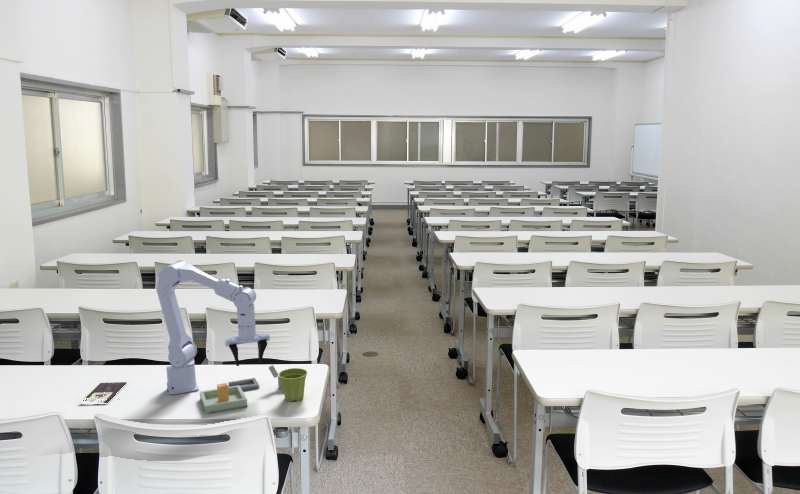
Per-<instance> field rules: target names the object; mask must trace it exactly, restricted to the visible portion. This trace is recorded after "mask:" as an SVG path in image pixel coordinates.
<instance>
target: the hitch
mask: <svg viewBox="0 0 800 494" xmlns="http://www.w3.org/2000/svg"><path fill="white" fill-rule="evenodd" d="M227 382H228V384H227V385H228V387H231V386H237V385H240V387H241V389H242V391H243V392H244V391H249V390H257V389H260V384H259V382H258V381H257V379H256V378H255V377H253V378H246V379H241V380H240V379H238V380H233V381H227Z"/></svg>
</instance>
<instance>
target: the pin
mask: <svg viewBox="0 0 800 494" xmlns="http://www.w3.org/2000/svg"><path fill="white" fill-rule="evenodd" d="M228 387H229V385H228V384H227V382H224V383H223V382H222V383H218V384H216V389H217V392H218V401H219V403H221V402H227V401H229V395H228Z"/></svg>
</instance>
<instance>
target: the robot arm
mask: <svg viewBox="0 0 800 494" xmlns="http://www.w3.org/2000/svg"><path fill="white" fill-rule="evenodd" d="M157 277H158V279H157V284H156V294H157V296H158V301H159V304H160V308H161V312H162V314H163V319H164V322H165V326H166V329H167V333H168V336H169V339H170V340H169V343H168V346H167V349H168V362H169V363H170V365H167V366H166V368H165V369H166V378H167V379H166V381H167V382H166V386H167V387H166V388H167V389H168V394H169V395H176V394H183V393H184V394H186V393H190V392H196V391H199V390H200V389H199V386H198V383H197V377H196V366H195V365H196V364H195V356H197V353H198V348H197V346H196V344H195V343H194V342H193V339H192V337H191V336H189V335H188V334H187V332H186V328H185V325H184V320H183V317H182V313H181V311H180V307H179V303H178V299H177V296H176V292H175V290H176V288H178V286H179V284H180V283H184V282H189V281H193V282H195V283H197V284H200V285H203V286H205V287H208V288H210V289H212V290H213V291H214V293H215V295H217V296H219V297H222V298H223V299H225V300H228V301H229V302H232V303H233V304H234V306H235V308H236V314H237V315H236V316H237V331H238V332H237V333H238V334H237V335H238V336H234V337H231V338H226V339H224V345H225V347H227V348H228V347H229V349H230V351H231V353H232V355H233V358H234V362H235V365H236V367H240V361H239V348H238V345H243V344H249V343H250V344H251V343H257V352H258V353H257V354H258V355H257V357H258V362H259V363H261V364H262V363H263V356H264V354H265V350H266V349H267V347H268V341H270V340H271V339H270V337H271V336H270V334H269V333H262V334H261V333H257V329H256V328H257V327H256V326H257V325H256V313H255V312H256V311H255V302H256V299H257V293H256V291H255V290H254V289H253V288H251V287H249V286H246V287H244V286H243V285H238V284H236V283H235V282H232V281H231V279H229V278H226V279H225V278H221V279H218V278H215V277H214V276H212V275H210V274H208V273H206V272H204V271H202V270H200V269H199V268H197V267H195V266H194V265H193V264H191V263H189V262H186V261H184V260H176V261H175V262H173V263H171V264H169V265H165V266H163V268H161V270H159V272H158V273H157Z"/></svg>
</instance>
